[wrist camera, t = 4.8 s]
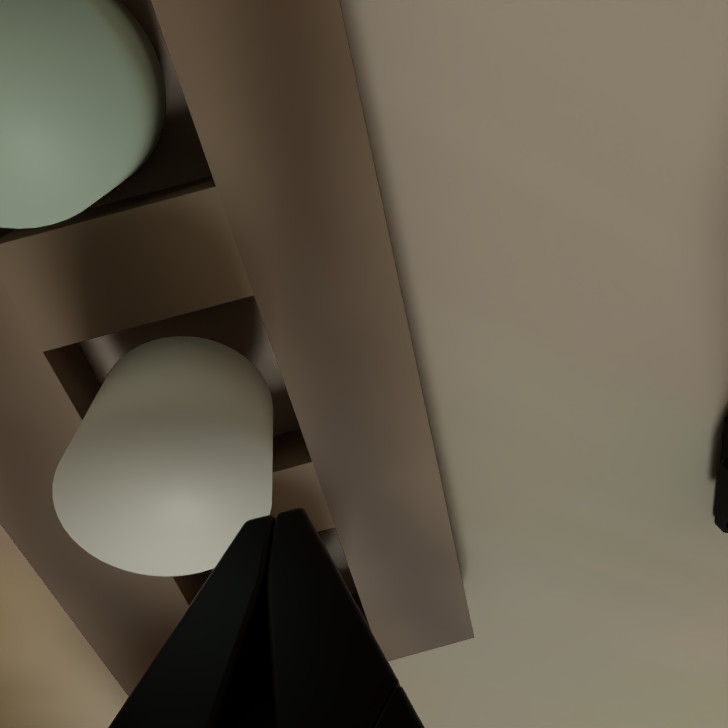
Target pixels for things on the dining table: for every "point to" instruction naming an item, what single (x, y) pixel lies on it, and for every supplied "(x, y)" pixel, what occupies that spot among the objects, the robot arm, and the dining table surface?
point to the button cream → (169, 458)
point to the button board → (279, 314)
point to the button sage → (72, 106)
